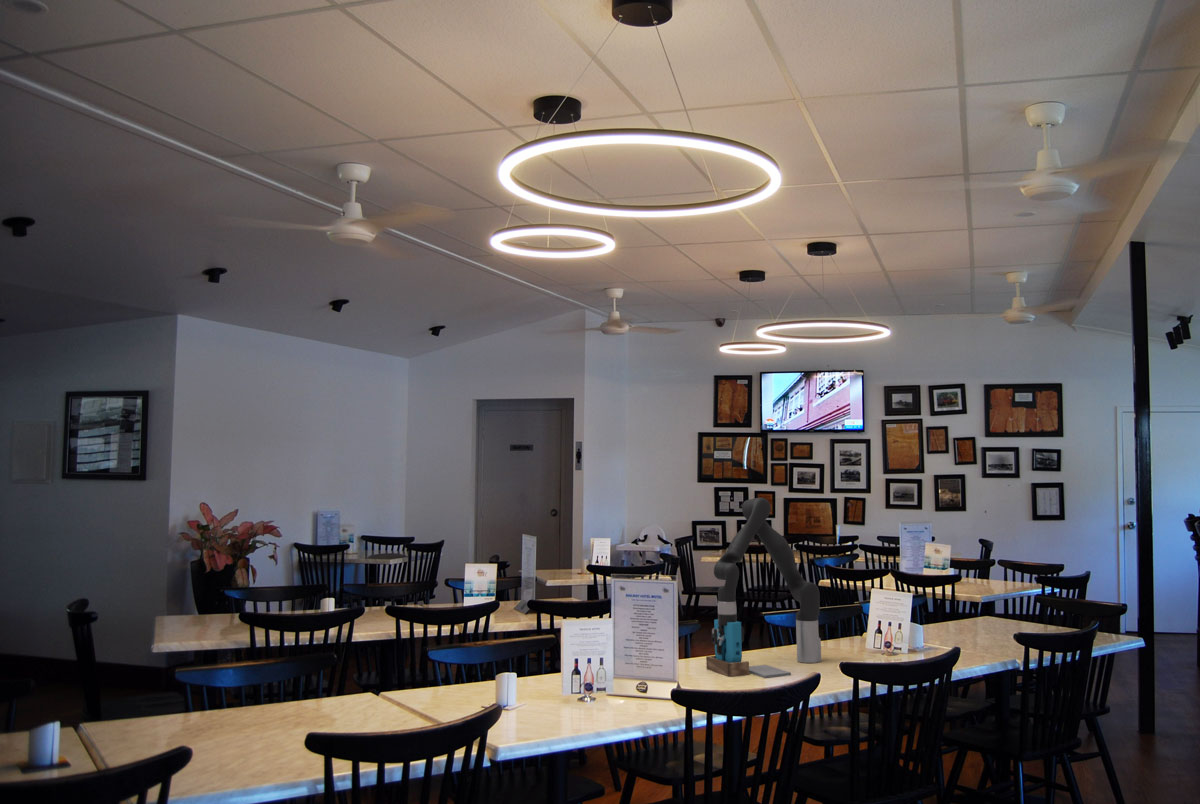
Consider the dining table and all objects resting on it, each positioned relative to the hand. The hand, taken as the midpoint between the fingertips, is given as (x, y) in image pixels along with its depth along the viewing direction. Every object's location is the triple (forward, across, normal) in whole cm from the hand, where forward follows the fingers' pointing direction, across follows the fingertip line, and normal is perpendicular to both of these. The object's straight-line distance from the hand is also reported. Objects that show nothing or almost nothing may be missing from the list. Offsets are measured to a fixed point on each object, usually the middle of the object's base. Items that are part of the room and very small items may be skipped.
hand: (728, 653), depth 365 cm
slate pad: (+7, -12, +8) cm, 16 cm away
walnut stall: (+7, 0, 0) cm, 7 cm away
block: (+7, 0, 0) cm, 7 cm away
